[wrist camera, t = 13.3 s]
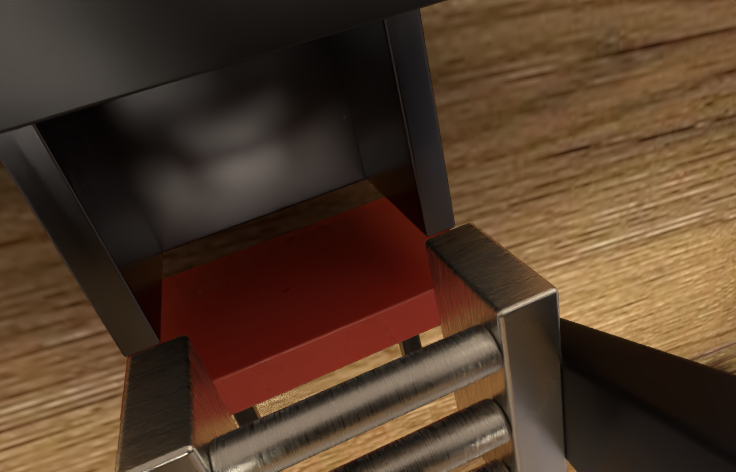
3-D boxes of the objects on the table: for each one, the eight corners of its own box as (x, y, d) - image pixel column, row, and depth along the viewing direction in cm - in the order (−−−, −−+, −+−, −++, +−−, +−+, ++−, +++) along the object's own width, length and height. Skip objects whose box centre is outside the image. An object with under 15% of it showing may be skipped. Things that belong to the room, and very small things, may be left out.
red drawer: (430, 317, 21) (511, 419, 16) (205, 414, 19) (217, 562, 14) (314, -226, 12) (411, -371, 7) (-110, -142, 11) (-356, -261, 6)
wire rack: (235, 530, 8) (251, 666, 7) (125, 354, 6) (109, 484, 5) (497, 406, 9) (570, 498, 8) (471, 220, 7) (560, 288, 6)
